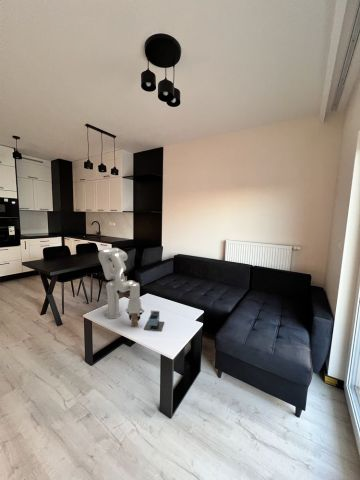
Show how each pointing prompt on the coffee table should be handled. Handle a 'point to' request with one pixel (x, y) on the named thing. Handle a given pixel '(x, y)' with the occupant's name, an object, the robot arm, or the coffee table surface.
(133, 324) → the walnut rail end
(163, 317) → the coffee table surface
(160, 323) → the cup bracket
